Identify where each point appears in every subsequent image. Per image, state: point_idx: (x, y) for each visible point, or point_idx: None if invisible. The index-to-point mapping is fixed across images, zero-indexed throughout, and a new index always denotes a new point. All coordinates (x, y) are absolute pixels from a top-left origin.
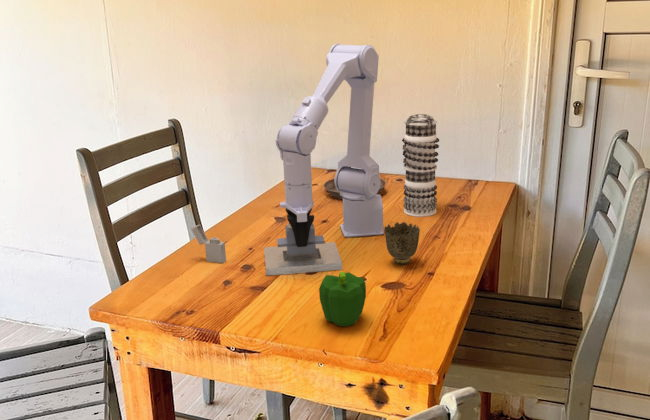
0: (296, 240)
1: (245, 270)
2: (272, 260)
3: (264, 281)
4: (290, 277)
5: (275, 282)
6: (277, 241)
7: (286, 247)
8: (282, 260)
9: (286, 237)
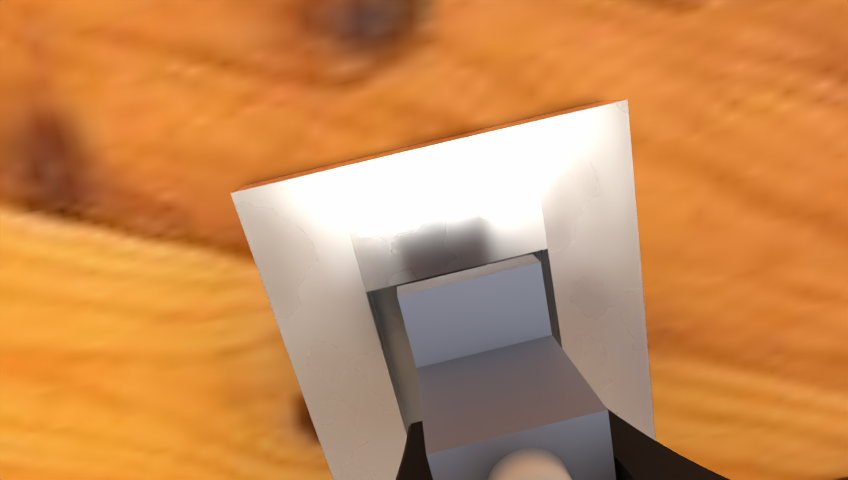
0: (400, 467)
1: (320, 17)
2: (378, 212)
3: (162, 189)
4: (246, 328)
5: (161, 259)
6: (472, 279)
7: (608, 262)
8: (382, 278)
9: (492, 368)
